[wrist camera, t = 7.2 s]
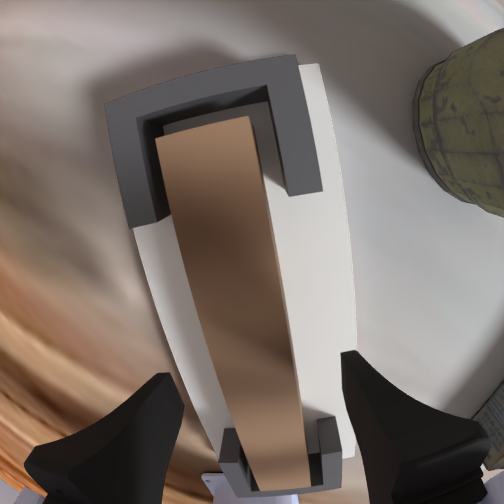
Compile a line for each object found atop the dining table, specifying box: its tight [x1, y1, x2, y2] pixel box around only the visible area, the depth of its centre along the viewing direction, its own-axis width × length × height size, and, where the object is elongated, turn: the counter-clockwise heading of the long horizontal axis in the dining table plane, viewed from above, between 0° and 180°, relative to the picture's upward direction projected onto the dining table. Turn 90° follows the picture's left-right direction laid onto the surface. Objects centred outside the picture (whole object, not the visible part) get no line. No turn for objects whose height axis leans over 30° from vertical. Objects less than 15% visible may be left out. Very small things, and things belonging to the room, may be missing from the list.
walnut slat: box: [155, 116, 311, 491], centre depth 14 cm, size 20×3×4 cm, turn 11°
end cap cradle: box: [105, 54, 357, 498], centre depth 15 cm, size 25×10×4 cm, turn 11°
